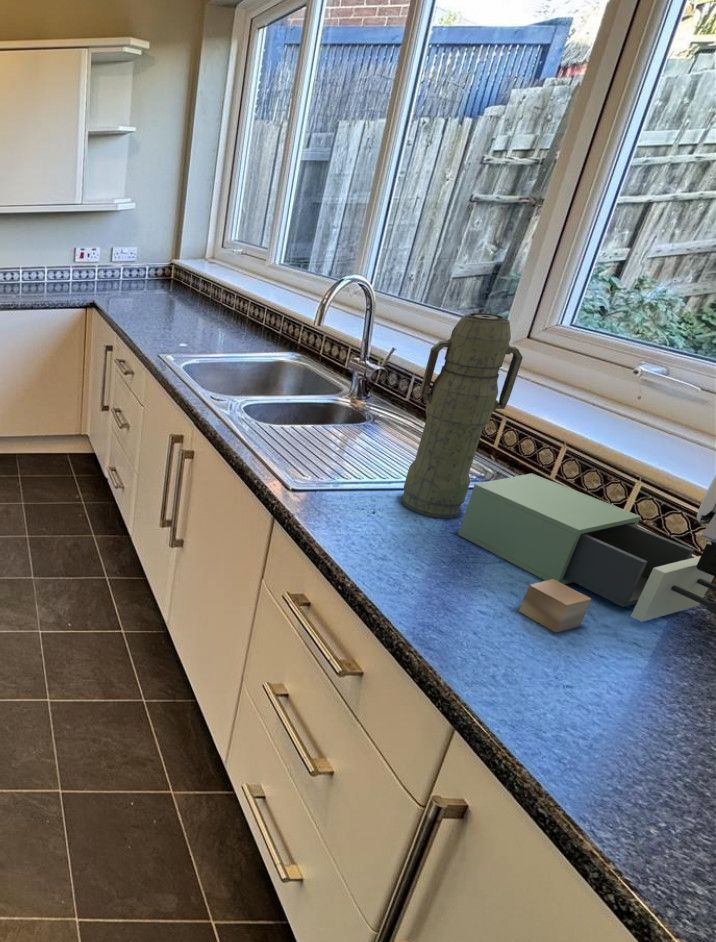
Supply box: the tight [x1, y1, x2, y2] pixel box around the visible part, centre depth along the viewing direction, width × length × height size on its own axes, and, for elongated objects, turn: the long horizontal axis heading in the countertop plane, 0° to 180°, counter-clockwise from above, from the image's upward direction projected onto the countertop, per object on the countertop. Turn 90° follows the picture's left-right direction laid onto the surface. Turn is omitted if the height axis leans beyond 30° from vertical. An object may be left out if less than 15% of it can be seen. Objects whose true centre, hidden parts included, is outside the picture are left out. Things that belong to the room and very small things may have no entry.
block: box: [518, 579, 592, 633], centre depth 83 cm, size 4×4×4 cm
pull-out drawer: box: [564, 523, 716, 623], centre depth 85 cm, size 18×11×8 cm, turn 16°
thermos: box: [400, 312, 524, 519], centre depth 105 cm, size 9×12×35 cm
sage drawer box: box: [457, 472, 642, 585], centre depth 96 cm, size 15×13×10 cm
